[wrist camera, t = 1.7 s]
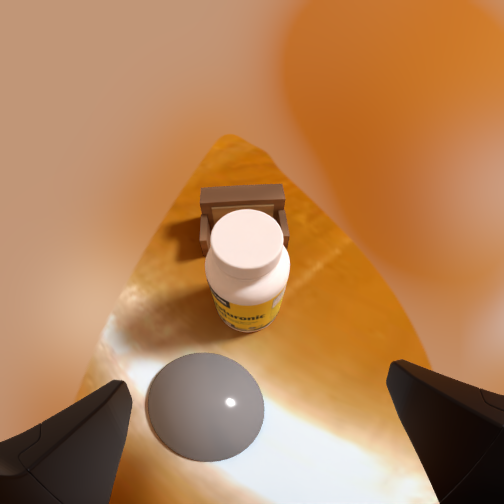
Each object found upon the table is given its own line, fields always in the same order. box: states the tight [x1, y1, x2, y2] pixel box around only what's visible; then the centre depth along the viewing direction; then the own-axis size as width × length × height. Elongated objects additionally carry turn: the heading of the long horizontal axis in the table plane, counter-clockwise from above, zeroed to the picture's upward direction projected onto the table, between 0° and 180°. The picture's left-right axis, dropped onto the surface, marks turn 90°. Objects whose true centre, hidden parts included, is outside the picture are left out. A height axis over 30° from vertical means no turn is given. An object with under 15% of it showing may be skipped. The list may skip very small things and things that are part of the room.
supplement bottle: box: [205, 209, 290, 332], centre depth 19 cm, size 5×5×10 cm
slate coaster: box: [148, 353, 264, 462], centre depth 18 cm, size 9×9×1 cm
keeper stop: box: [200, 184, 289, 256], centre depth 25 cm, size 5×8×4 cm, turn 94°
